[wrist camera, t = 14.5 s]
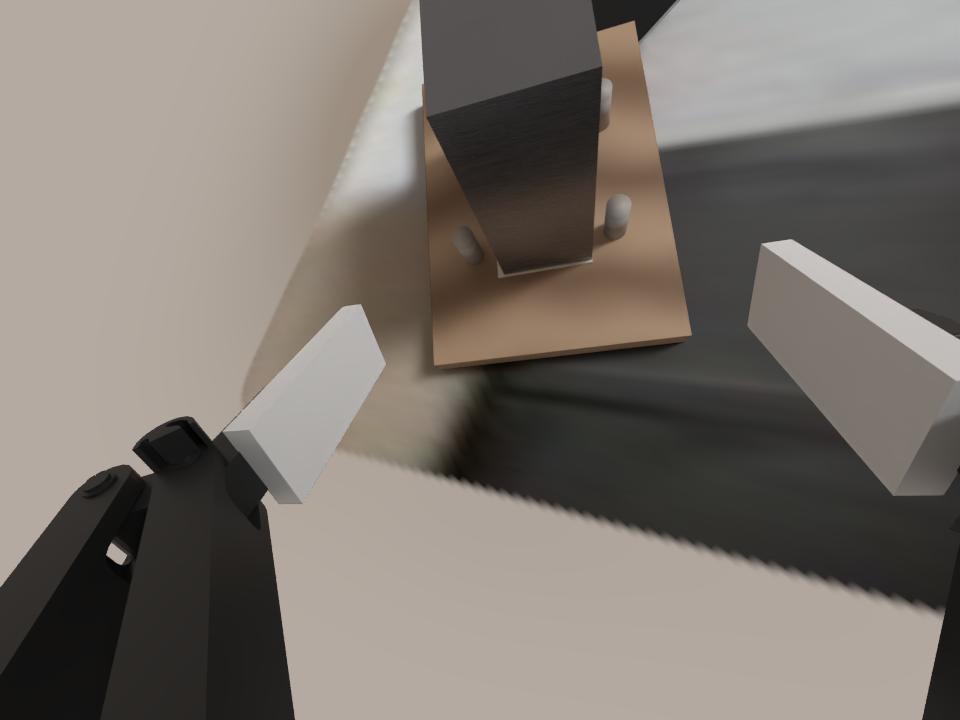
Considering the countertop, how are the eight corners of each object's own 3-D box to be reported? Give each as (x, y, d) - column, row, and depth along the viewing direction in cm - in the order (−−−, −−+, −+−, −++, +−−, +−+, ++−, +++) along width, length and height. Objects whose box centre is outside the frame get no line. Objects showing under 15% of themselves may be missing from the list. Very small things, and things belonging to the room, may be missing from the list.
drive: (592, 259, 22) (602, 65, 10) (502, 275, 23) (423, 118, 11) (569, 108, 24) (558, -194, 12) (489, 130, 25) (409, -127, 13)
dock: (684, 341, 21) (706, 322, 17) (442, 369, 24) (416, 357, 21) (631, 43, 25) (640, -26, 21) (430, 101, 28) (406, 50, 25)
